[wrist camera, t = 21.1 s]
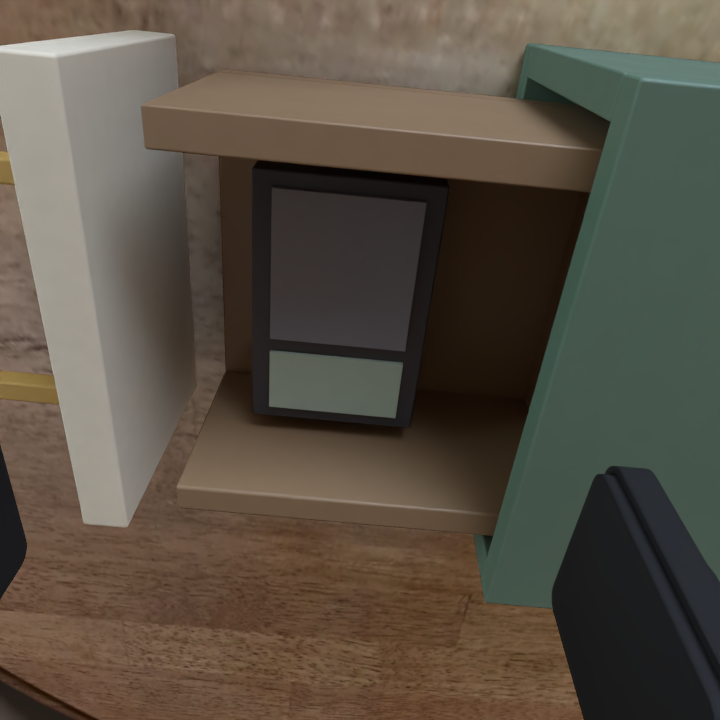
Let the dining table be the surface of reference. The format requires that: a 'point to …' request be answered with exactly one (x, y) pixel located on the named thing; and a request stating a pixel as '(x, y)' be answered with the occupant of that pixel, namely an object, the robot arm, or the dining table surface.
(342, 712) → the dining table surface
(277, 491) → the drawer
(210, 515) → the dining table surface
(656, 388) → the cabinet
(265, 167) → the calculator
